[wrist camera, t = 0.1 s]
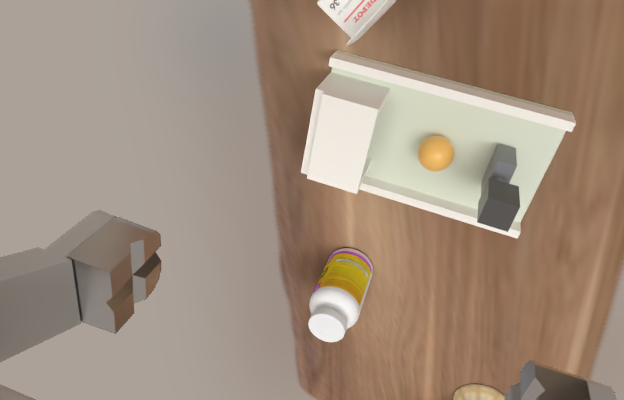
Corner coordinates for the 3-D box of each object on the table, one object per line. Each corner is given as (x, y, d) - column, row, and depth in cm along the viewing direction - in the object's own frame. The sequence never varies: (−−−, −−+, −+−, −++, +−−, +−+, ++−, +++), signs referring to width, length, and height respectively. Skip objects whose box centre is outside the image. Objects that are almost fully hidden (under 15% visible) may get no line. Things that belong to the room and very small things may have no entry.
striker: (493, 141, 55) (491, 188, 47) (520, 149, 55) (524, 198, 46) (477, 179, 58) (473, 230, 50) (503, 187, 58) (504, 239, 49)
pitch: (337, 50, 57) (317, 69, 51) (572, 112, 53) (582, 142, 46) (315, 162, 65) (295, 192, 59) (516, 224, 61) (518, 263, 55)
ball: (425, 126, 57) (421, 140, 54) (460, 135, 57) (458, 150, 53) (415, 156, 59) (411, 171, 56) (449, 166, 59) (446, 182, 56)
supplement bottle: (331, 241, 71) (302, 301, 61) (377, 252, 70) (355, 316, 59) (326, 276, 75) (298, 339, 64) (370, 288, 73) (348, 354, 63)
